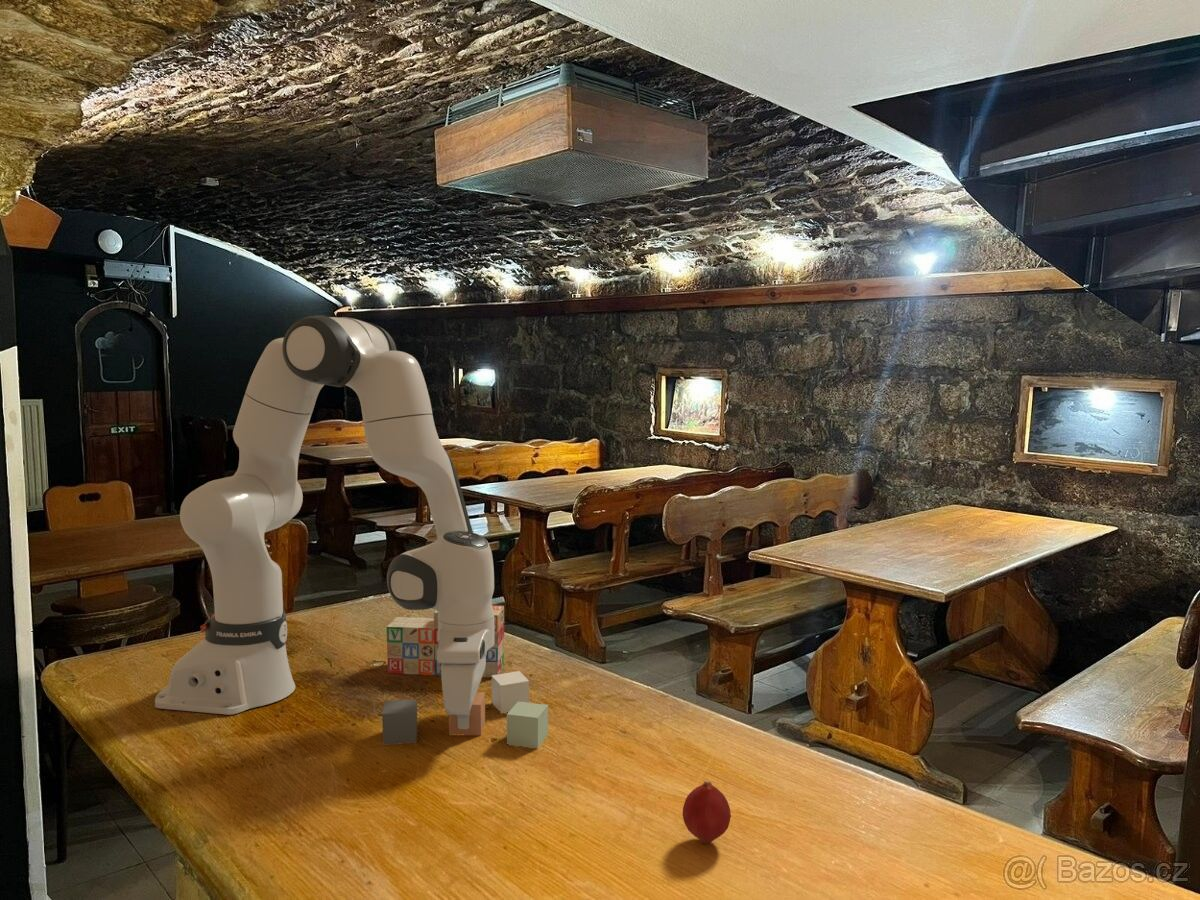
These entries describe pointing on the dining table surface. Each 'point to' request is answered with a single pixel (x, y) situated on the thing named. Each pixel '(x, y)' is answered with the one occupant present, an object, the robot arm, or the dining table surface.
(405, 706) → the charcoal cube
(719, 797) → the onion
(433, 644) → the stack of blocks
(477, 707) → the terracotta cube
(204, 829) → the dining table surface
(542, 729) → the sage green cube
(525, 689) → the off-white cube
